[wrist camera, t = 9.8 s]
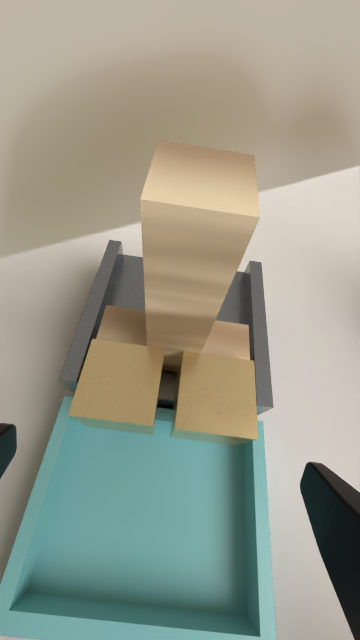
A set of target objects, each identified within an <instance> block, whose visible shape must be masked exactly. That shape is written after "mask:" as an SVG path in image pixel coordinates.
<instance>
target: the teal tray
mask: <svg viewBox="0 0 360 640" xmlns="http://www.w3.org/2000/svg"><path fill="white" fill-rule="evenodd" d="M73 398H74V397H72V396H64V398H63V401H62V404H61V407H60V410H59V413H58V416H57V419H56V422H55V424H54V427H53V430H52V433H51V436H50V439H49V442H48V445H47V448H46V451H45V454H44V457H43V460H42V463H41V466H40V469H39V472H38V475H37V478H36V481H35V483H34V486H33V489H32V492H31V495H30V498H29V501H28V504H27V507H26V510H25V513H24V516H23V519H22V522H21V525H20V528H19V531H18V534H17V537H16V539H15V542H14V545H13V548H12V551H11V554H10V557H9V560H8V563H7V566H6V569H5V572H4V575H3V578H2V581H1V584H0V635H2V636H12V637H22V638H32V639H41V640H276V628H275V611H274V595H273V578H272V562H271V545H270V529H269V512H268V496H267V480H266V463H265V447H264V430H263V421H257V426H258V440H255V441H251V442H246V443H242V444H238V445H227V444H219V443H212V442H204V441H196V440H188V439H180V438H172V437H170V431H171V422H172V414H173V410H172V409H164V408H157V412H156V419H155V425H154V432H153V435H148V434H141V433H133V432H125V431H117V430H109V429H101V428H93V427H87V426H85V425H83V424H82V423H80V422H78V421H77V420H75V419H73V418H71V417H70V416H68V413H69V410H70V407H71V404H72V401H73Z"/></svg>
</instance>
